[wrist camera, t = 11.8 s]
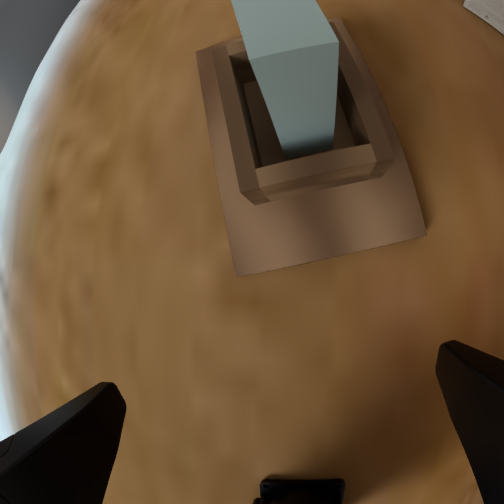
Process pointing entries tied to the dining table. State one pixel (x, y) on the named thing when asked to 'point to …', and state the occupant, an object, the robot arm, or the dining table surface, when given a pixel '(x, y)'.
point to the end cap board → (305, 168)
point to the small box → (488, 11)
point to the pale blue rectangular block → (293, 69)
